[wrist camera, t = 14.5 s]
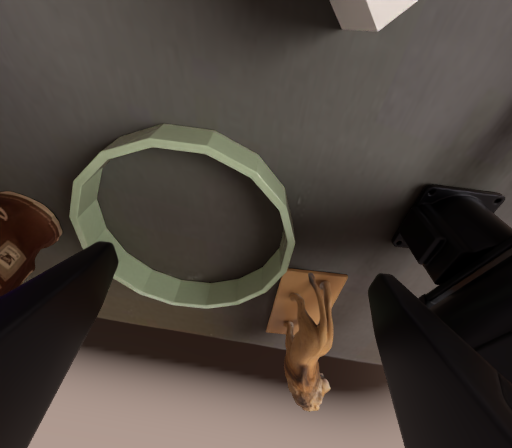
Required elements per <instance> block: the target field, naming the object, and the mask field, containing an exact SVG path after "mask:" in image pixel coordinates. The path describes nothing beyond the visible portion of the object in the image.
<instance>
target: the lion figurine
mask: <svg viewBox="0 0 512 448" xmlns="http://www.w3.org/2000/svg"><path fill="white" fill-rule="evenodd" d="M308 277H309V282H310V284H311V285H312V287H313V289H314V291H315V293H316V296H317V301H318V305H319V312H320V320H319V323H318V325H316V324H315V322H314V321H313V319H312V318H311V317H310V316H309V315H308V313H307V311H306V309H305V301H304V299H303V298H302V297H301V296H300V295H299V294H297V293H292V294H291V295H290V296H289V298H290V300H291V301H292V302H297V306H298V312H297V322H298V326H299V331H298V332H297V333H296V334H295V336H294V338H293V330H294V325H293V323H292V322H290V321H288V322H284V326H285V327H286V328H287V331H286V341H285V345H286V349H287V350H286V356H285V360H284V369H285V375H286V378H287V381H288V388H289V390H290V392H291V393H292V396H293V398H294V400H295V402H296V404H297V405H299V406H301V407H302V408H303V410H307V411H309V412H310V411H315V410H319V405H320V404H321V403H322V398H323V397H324V394H325V393H326V392H328V391H329V390H330V386H329V383H328V381H327V380H326V379H324V376H323V374H322V373H320V372H319V364H318V359H319V357H320V356H323V355H325V354H326V353H327V352H328V351H329V350H330V349H331V346H332V342H333V322H332V315H331V302H332V294H331V290H330V283H329V282H327V281H324V282H322V283H321V284H320V289H321V290H323V291H324V301H323V297H322V295H321V292H320V290H319V288H318V286H317V284H316V281H315V276H314V275H313V273H311V272H310V273H308Z"/></svg>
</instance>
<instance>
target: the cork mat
mask: <svg viewBox="0 0 512 448" xmlns="http://www.w3.org/2000/svg"><path fill="white" fill-rule="evenodd" d="M310 272H311V273H313V275H314V276H315V281H316V284H317V286H318V288H319V290H320V292H321V295H322V297H323V301H324V291H323V290H321V289H320V284H321V283H322V282H324V281H327V282H329V283H330V290H331V294H332V302H331V308H332V306H333V304H334V302H335V300H336V299H337V297H338V295H339V293H340V291H341V289H342V288H343V286H344V284H345V282H346V280H347V278H348V276H347V275H345V274H336V273H327V272H318V271H309V270H300V269H292V268H288V269H287V272H286V273H285V274H284V275H283V276H282V277H281V279H280V283H279V286H278V290H277V293H276V297H275V300H274V304H273V307H272V311H271V314H270V318H269V321H268V325H267V328H266V332H269V333H279V334H286V331H287V328H286V327H285V326H284V322H288V321H290V322H292V323H293V325H294V330H293V335H295V334H296V333H297V332H298V331H299V326H298V322H297V312H298V306H297V302H292V301H291V300H290V298H289V296H290V295H291V294H292V293H297V294H299V295H300V296H301V297H302V298H303V299H304V301H305V309H306V311H307V313H308V315H309V316H310V317H311V318H312V319H313V321H314V322H315V324H316V325H318V323H319V320H320V312H319V305H318V301H317V296H316V293H315V291H314V289H313V287H312V285H311V284H310V282H309V277H308V273H310Z"/></svg>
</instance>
